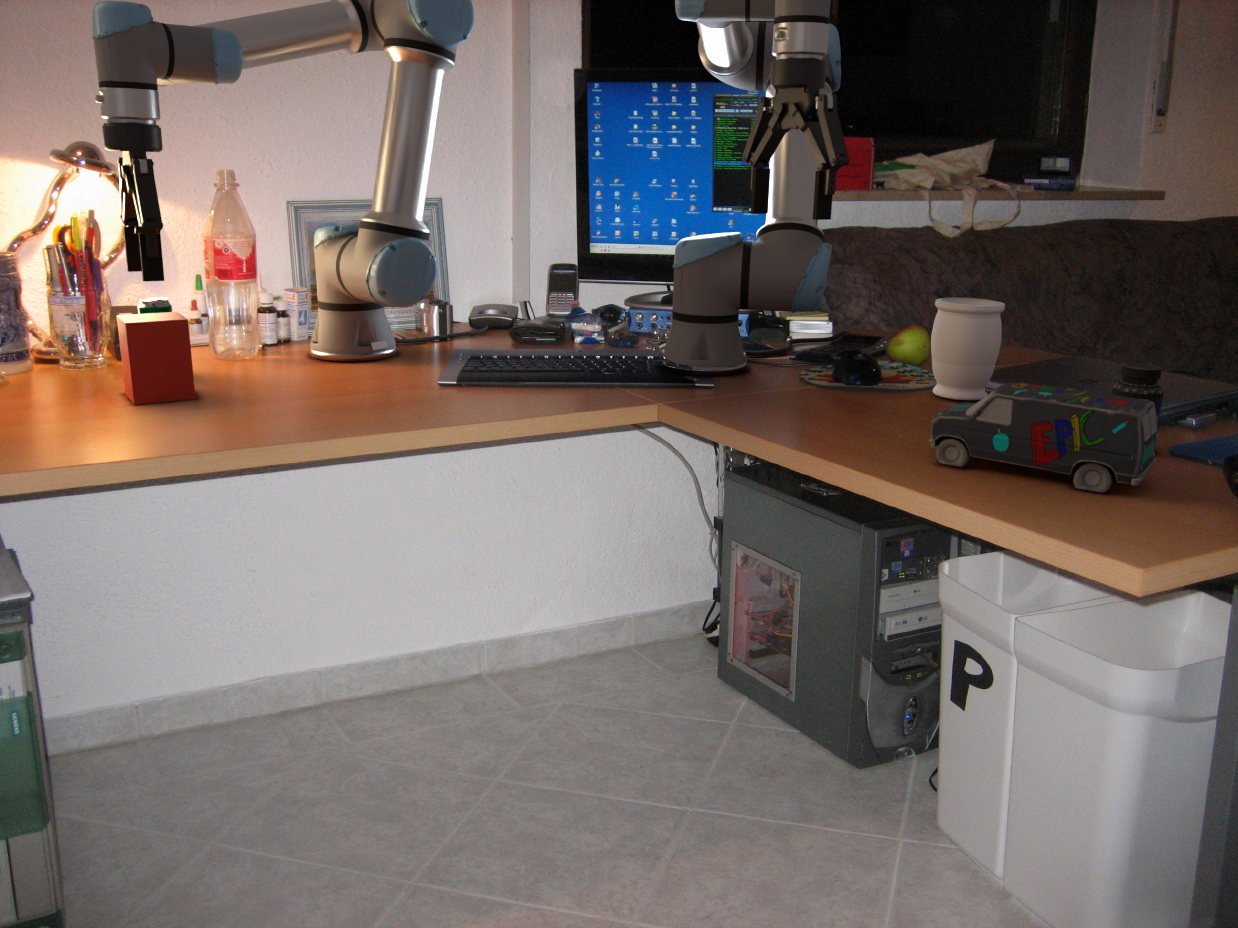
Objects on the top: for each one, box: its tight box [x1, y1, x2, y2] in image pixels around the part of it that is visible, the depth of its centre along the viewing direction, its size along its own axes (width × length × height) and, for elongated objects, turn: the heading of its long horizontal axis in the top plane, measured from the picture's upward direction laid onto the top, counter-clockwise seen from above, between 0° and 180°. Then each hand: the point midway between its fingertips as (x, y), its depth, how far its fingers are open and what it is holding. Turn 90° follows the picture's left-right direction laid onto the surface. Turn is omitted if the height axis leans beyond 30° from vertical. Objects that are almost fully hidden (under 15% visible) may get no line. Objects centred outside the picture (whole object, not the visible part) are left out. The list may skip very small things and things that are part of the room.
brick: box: [116, 311, 196, 406], centre depth 158 cm, size 8×8×12 cm
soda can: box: [137, 297, 173, 314], centre depth 174 cm, size 5×5×12 cm
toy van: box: [928, 382, 1159, 493], centre depth 129 cm, size 11×25×10 cm, turn 54°
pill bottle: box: [1110, 362, 1165, 431], centre depth 139 cm, size 6×6×11 cm
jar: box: [930, 297, 1006, 401], centre depth 168 cm, size 11×10×15 cm
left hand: (145, 276), depth 155 cm, fingers open, 13 cm apart
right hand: (789, 217), depth 153 cm, fingers open, 13 cm apart
